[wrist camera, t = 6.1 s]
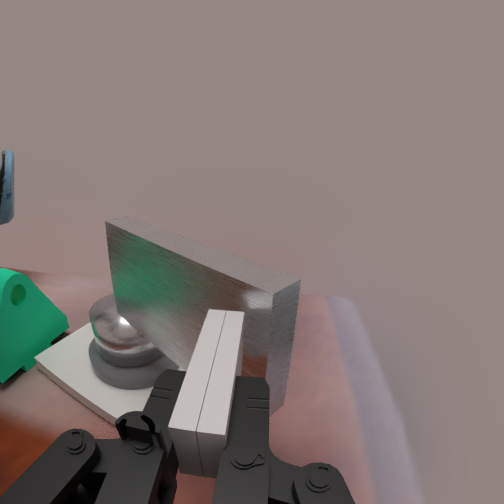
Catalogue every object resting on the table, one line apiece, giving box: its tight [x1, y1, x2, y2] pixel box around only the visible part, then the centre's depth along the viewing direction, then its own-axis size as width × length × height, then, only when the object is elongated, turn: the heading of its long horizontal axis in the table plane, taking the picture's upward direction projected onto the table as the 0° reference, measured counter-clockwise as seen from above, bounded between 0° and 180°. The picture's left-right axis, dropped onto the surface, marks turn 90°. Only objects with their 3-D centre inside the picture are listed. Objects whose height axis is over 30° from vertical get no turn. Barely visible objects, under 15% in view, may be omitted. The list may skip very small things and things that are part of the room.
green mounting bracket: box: [0, 268, 69, 384], centre depth 25 cm, size 12×8×10 cm, turn 168°
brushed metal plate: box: [89, 217, 301, 417], centre depth 21 cm, size 20×7×12 cm, turn 49°
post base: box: [34, 322, 185, 426], centre depth 28 cm, size 20×16×3 cm
